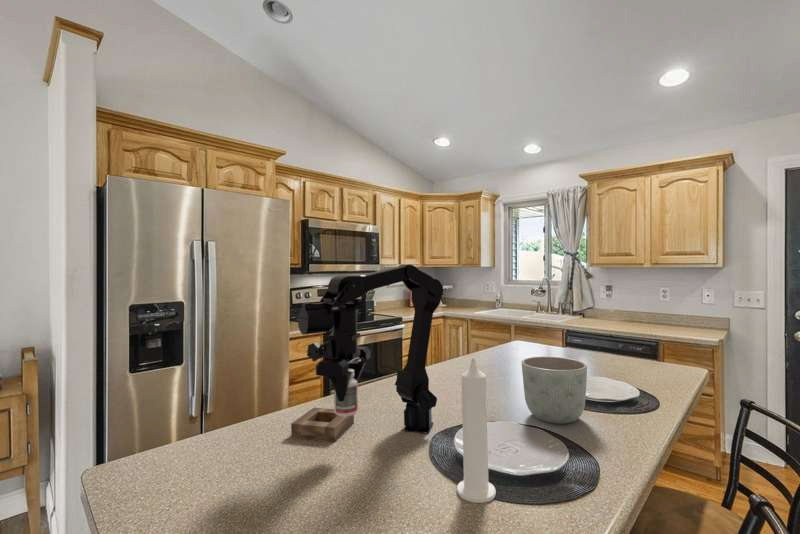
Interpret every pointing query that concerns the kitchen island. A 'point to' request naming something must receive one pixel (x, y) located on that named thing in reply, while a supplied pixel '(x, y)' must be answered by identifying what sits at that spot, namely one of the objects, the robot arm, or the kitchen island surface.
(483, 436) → the candle
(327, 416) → the socket block
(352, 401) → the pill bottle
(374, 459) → the kitchen island surface
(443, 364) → the kitchen island surface
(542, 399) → the planter
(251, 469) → the kitchen island surface
